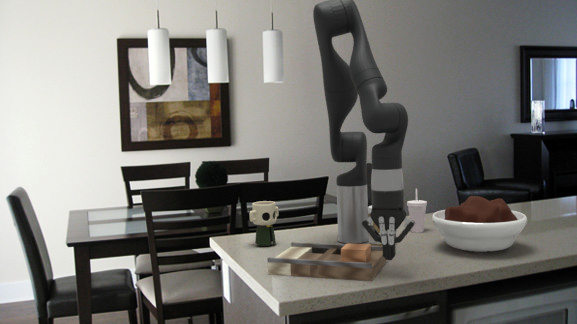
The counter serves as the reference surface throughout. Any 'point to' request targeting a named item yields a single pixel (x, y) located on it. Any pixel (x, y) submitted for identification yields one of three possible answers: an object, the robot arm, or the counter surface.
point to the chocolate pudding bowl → (479, 225)
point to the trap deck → (324, 262)
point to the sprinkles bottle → (371, 240)
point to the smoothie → (417, 214)
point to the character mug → (264, 221)
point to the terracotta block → (356, 253)
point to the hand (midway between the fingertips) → (389, 259)
